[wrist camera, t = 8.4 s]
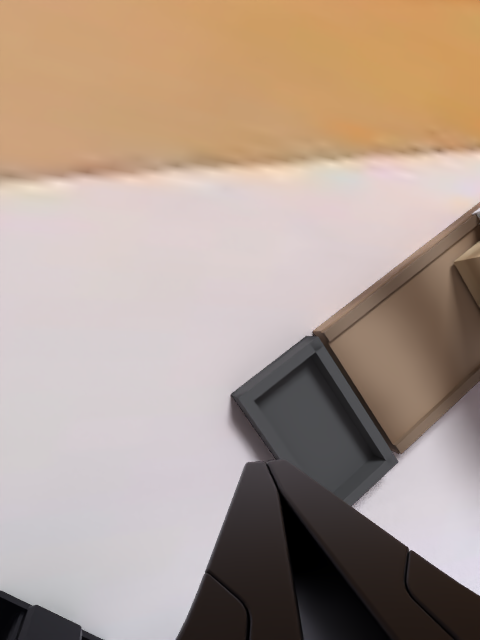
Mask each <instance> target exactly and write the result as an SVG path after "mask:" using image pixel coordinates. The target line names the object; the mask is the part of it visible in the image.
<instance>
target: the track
mask: <svg viewBox="0 0 480 640" xmlns="http://www.w3.org/2000/svg"><path fill="white" fill-rule="evenodd" d="M479 208H480V203H478V204H477V205H476V206H474V207H473V208H472V209H470V210H469V211H468V212H467V213H465V214H464V215H463V216H461V217H460V218H459V219H458V220H456V221H455V222H454V223H452V224H451V225H450V226H448V227H447V228H446V229H445V230H443V231H442V232H441V233H439V234H438V235H437V236H435V237H434V238H433V239H432V240H430V241H429V242H428V243H426V244H425V245H424V246H423V247H421V248H420V249H419V250H417V251H416V252H415V253H413V254H412V255H411V256H410V257H408V258H407V259H406V260H404V261H403V262H402V263H400V264H399V265H398V266H397V267H395V268H394V269H393V270H391V271H390V272H389V273H387V274H386V275H385V276H384V277H382V278H381V279H380V280H378V281H377V282H376V283H375V284H373V285H372V286H371V287H369V288H368V289H367V290H365V291H364V292H363V293H362V294H360V295H359V296H358V297H356V298H355V299H354V300H352V301H351V302H350V303H349V304H347V305H346V306H345V307H343V308H342V309H341V310H340V311H338V312H337V313H336V314H334V315H333V316H332V317H330V318H329V319H328V320H327V321H325V322H324V323H323V324H321V325H320V326H319V327H317V328H316V329H315V330H314V331H313V333H314V334H315V336H318V337H319V339H320V340H321V342H322V343H323V345H324V346H325V348H326V350H327V351H328V353H329V354H330V356H331V357H332V359H333V360H334V362H335V364H336V365H337V367H338V368H339V370H340V371H341V373H342V375H343V376H344V378H345V379H346V381H347V382H348V384H349V385H350V387H351V389H352V390H353V392H354V393H355V395H356V396H357V398H358V400H359V401H360V403H361V404H362V406H363V407H364V409H365V410H366V412H367V414H368V415H369V417H370V418H371V420H372V421H373V423H374V425H375V426H376V428H377V429H378V431H379V432H380V434H381V435H382V437H383V439H384V440H385V442H386V443H387V445H388V446H389V448H390V450H391V451H394V452H396V453H398V454H399V453H400V454H402V453H403V452H404V451H405V450H406V449H407V448H408V447H409V446H411V445H412V444H413V443H414V442H415V441H416V440H417V439H418V438H419V437H420V436H421V435H422V434H423V433H424V432H425V431H427V430H428V429H429V428H430V427H431V426H432V425H433V424H434V423H435V422H436V421H437V420H438V419H439V418H440V417H442V416H443V415H444V414H445V413H446V412H447V411H448V410H449V409H450V408H451V407H452V406H453V405H454V404H455V403H456V402H458V401H459V400H460V399H461V398H462V397H463V396H464V395H465V394H466V393H467V392H468V391H469V390H470V389H471V388H473V387H474V386H475V385H476V384H477V383H478V382H479V381H480V308H479V306H478V305H477V303H476V301H475V299H474V298H473V296H472V294H471V292H470V290H469V289H468V287H467V285H466V283H465V282H464V280H463V278H462V276H461V275H460V273H459V271H458V269H457V268H456V266H455V264H454V261H455V260H456V259H458V258H459V257H460V256H461V255H463V254H464V253H465V252H466V251H468V250H469V249H470V248H471V247H473V246H474V245H475V244H476V243H478V242H479V241H480V224H479V223H480V219H479V218H478V216H477V214H475V215H472V213H474V212H475V211H476V210H478V209H479Z"/></svg>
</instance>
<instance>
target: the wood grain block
mask: <svg viewBox="0 0 480 640" xmlns="http://www.w3.org/2000/svg"><path fill="white" fill-rule="evenodd" d="M454 264H455V266H456V268H457V269H458V271H459V273H460V275H461V276H462V278H463V280H464V282H465V283H466V285H467V287H468V289H469V290H470V292H471V294H472V296H473V298H474V299H475V301H476V303H477V305H478V306H479V308H480V241H479V242H478V243H476V244H475V245H474V246H473V247H471V248H470V249H469V250H468V251H466V252H465V253H464V254H463V255H461V256H460V257H459V258H458V259H456V260H455V261H454Z"/></svg>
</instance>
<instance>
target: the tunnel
mask: <svg viewBox="0 0 480 640" xmlns="http://www.w3.org/2000/svg"><path fill="white" fill-rule="evenodd" d="M475 214H477V216H478V218H479V219H480V208H479V209H478V210H476V211H475V212H474V213H472V215H475ZM479 224H480V223H479Z"/></svg>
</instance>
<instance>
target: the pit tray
mask: <svg viewBox="0 0 480 640" xmlns="http://www.w3.org/2000/svg"><path fill="white" fill-rule="evenodd" d="M231 395H232V397H233V398H234V399H235V401H236V402H237V404H238V405H239V407H240V408H241V410H242V411H243V412H244V414H245V415H246V417H247V418H248V420H249V421H250V423H251V424H252V425H253V427H254V428H255V430H256V431H257V433H258V434H259V436H260V437H261V438H262V440H263V441H264V443H265V444H266V446H267V447H268V449H269V450H270V451H271V453H272V454H273V456H274V457H275V459H276V460H282V459H284V460H287V461H288V462H290V463H291V464H292V465H294V466H295V467H297V468H298V469H299V470H301V471H302V472H304V473H305V474H306V475H308V476H309V477H311V478H312V479H313V480H315V481H316V482H318V483H319V484H320V485H322V486H323V487H325V488H326V489H327V490H329V491H330V492H331V493H333V494H334V495H336V496H337V497H338V498H340V499H341V500H343V501H344V502H345V503H347V504H348V505H350V506H352V505H353V504H354V503H355V502H356V501H358V500H359V499H360V498H361V497H362V496H363V495H364V494H365V493H366V492H367V491H368V490H369V489H370V488H371V487H372V486H373V485H375V484H376V483H377V482H378V481H379V480H380V479H381V478H382V477H383V476H384V475H385V474H386V473H387V472H388V471H389V470H390V469H392V468H393V467H394V466H395V465H396V464H397V463H398V460H397V459H396V457H395V456H394V454H393V453H392V451H391V450H390V448H389V446H388V445H387V443H386V442H385V440H384V439H383V437H382V435H381V434H380V432H379V431H378V429H377V428H376V426H375V425H374V423H373V421H372V420H371V418H370V417H369V415H368V414H367V412H366V410H365V409H364V407H363V406H362V404H361V403H360V401H359V400H358V398H357V396H356V395H355V393H354V392H353V390H352V389H351V387H350V385H349V384H348V382H347V381H346V379H345V378H344V376H343V375H342V373H341V371H340V370H339V368H338V367H337V365H336V364H335V362H334V360H333V359H332V357H331V356H330V354H329V353H328V351H327V350H326V348H325V346H324V345H323V343H322V342H321V340H320V339H319V337H318V336H306V337H304V338H303V339H302V340H300V341H299V342H298V343H297V344H295V345H294V346H293V347H291V348H290V349H289V350H288V351H286V352H285V353H284V354H282V355H281V356H280V357H278V358H277V359H276V360H275V361H273V362H272V363H271V364H269V365H268V366H267V367H265V368H264V369H263V370H262V371H260V372H259V373H258V374H256V375H255V376H254V377H253V378H251V379H250V380H249V381H247V382H246V383H245V384H243V385H242V386H241V387H240V388H238V389H237V390H236V391H234V392H233V393H232V394H231Z"/></svg>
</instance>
